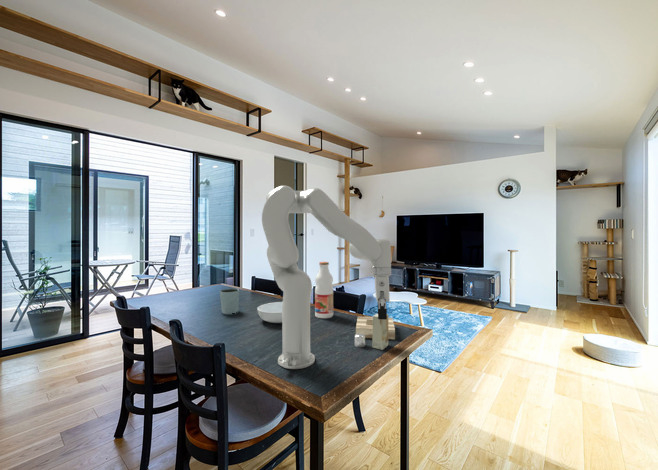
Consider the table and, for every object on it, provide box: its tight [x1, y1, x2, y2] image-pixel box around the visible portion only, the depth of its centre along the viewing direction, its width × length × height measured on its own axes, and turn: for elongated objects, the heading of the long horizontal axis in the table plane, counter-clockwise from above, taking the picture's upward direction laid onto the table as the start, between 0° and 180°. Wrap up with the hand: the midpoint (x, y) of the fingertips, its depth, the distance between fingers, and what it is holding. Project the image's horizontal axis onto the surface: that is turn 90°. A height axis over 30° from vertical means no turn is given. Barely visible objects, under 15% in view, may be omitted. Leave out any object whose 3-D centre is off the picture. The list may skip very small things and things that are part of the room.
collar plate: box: [355, 316, 396, 340], centre depth 132 cm, size 16×16×4 cm
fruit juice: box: [314, 261, 334, 319], centre depth 155 cm, size 9×9×28 cm
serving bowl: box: [256, 301, 283, 324], centre depth 149 cm, size 21×21×7 cm
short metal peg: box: [354, 333, 366, 348], centre depth 117 cm, size 4×4×4 cm
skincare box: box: [371, 313, 389, 351], centre depth 116 cm, size 6×4×12 cm
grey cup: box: [219, 288, 240, 315], centre depth 163 cm, size 10×10×12 cm
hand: (382, 315), depth 116 cm, fingers open, 9 cm apart
